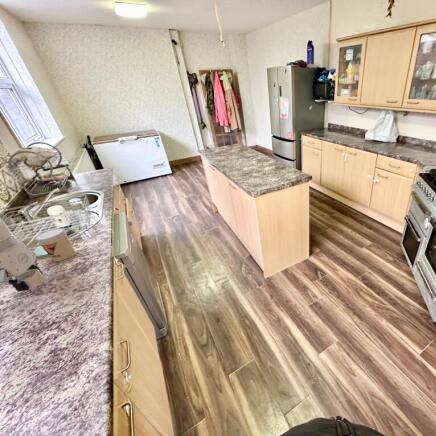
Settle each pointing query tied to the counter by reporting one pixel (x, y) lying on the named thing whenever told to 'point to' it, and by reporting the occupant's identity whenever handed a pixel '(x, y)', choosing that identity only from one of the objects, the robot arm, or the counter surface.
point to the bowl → (32, 278)
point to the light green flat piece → (40, 252)
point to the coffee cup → (56, 244)
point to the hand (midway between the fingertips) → (31, 282)
